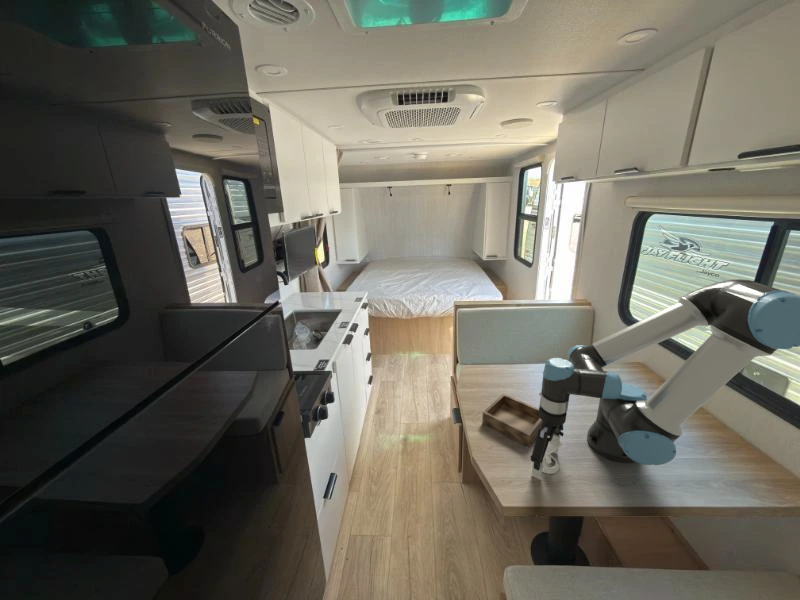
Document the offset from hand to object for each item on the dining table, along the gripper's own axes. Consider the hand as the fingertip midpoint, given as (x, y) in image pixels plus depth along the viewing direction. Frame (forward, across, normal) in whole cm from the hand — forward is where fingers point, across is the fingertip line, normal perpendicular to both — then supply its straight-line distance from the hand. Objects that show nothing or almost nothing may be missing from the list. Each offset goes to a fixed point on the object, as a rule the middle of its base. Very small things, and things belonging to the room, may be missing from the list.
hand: (545, 462), depth 99 cm
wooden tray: (0, -11, -16) cm, 19 cm away
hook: (+1, 0, 0) cm, 1 cm away
